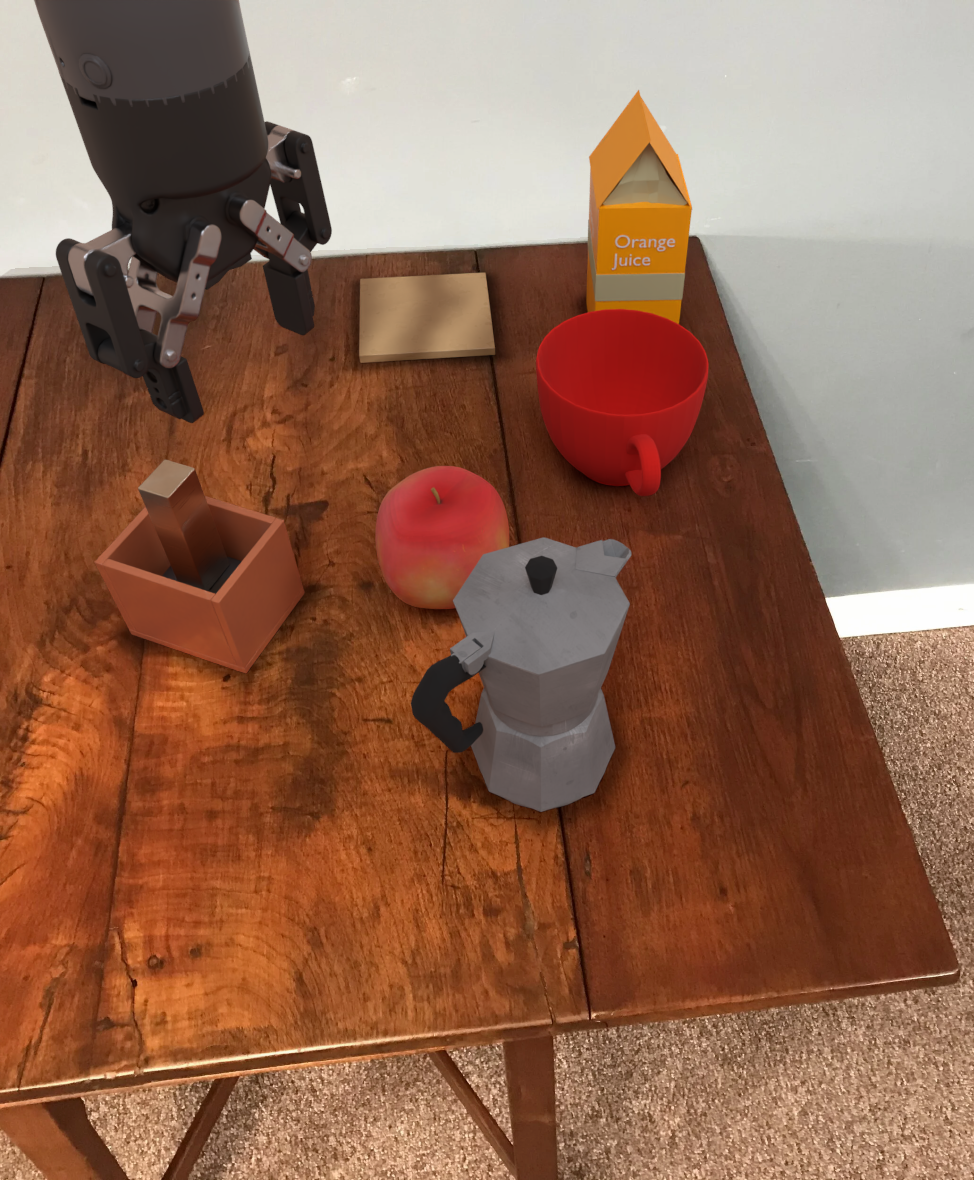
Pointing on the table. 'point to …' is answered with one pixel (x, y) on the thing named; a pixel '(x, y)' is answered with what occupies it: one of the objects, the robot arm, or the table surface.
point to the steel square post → (186, 527)
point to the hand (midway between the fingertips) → (242, 369)
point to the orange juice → (637, 218)
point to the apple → (437, 533)
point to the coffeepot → (534, 669)
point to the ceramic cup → (621, 394)
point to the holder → (198, 617)
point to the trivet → (425, 317)
